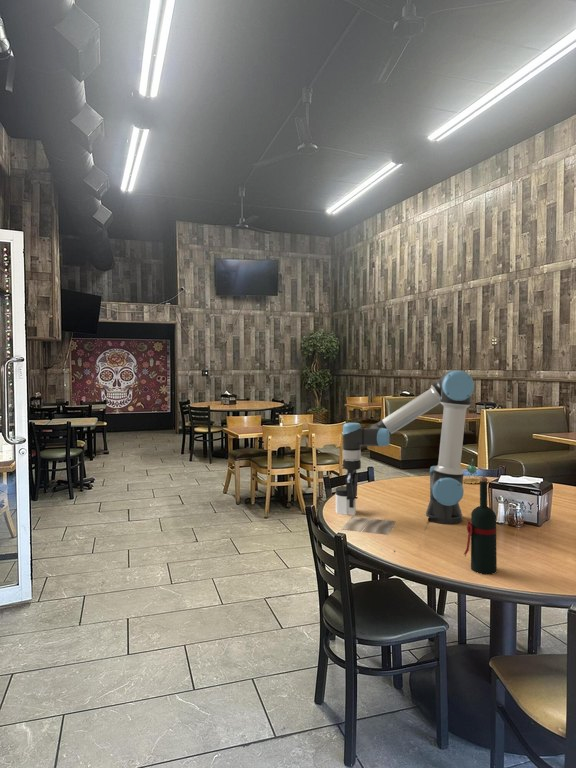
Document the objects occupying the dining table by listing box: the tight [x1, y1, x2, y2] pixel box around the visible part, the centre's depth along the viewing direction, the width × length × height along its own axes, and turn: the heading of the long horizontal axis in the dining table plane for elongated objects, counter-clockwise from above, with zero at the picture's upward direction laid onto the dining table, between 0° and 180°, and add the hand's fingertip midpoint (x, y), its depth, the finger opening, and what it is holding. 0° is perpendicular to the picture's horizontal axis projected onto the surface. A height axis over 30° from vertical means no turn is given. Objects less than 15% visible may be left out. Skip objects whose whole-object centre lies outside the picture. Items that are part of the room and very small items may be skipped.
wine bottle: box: [463, 476, 498, 575], centre depth 157 cm, size 8×10×30 cm
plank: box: [340, 515, 371, 533], centre depth 202 cm, size 8×18×1 cm, turn 158°
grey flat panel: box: [361, 518, 397, 536], centre depth 200 cm, size 23×20×1 cm
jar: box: [334, 485, 349, 516], centre depth 219 cm, size 9×8×12 cm
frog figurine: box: [463, 458, 490, 485], centre depth 278 cm, size 10×18×15 cm, turn 79°
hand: (352, 514), depth 207 cm, fingers closed
